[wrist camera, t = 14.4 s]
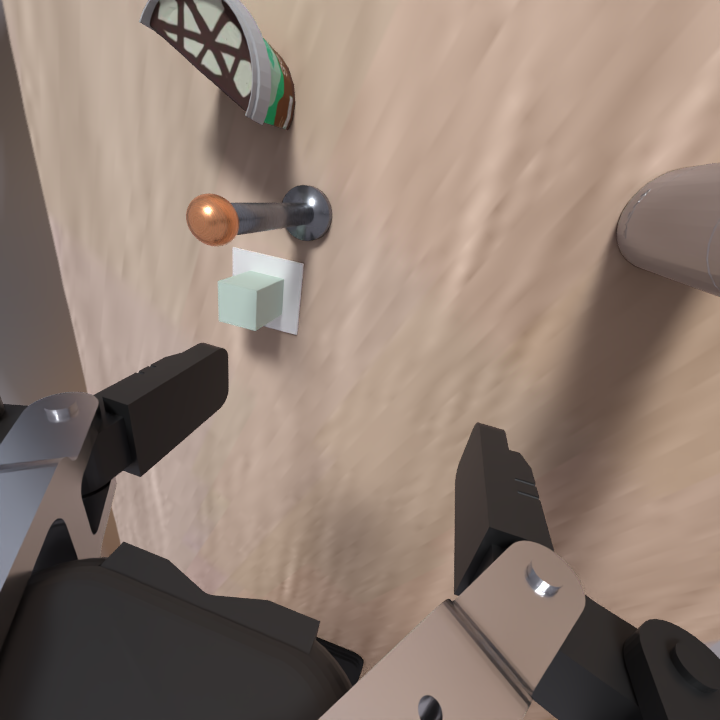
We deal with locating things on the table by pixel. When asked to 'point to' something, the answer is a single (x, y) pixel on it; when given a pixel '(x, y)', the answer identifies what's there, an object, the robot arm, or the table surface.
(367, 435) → the table surface
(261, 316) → the green block
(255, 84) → the food container
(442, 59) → the table surface
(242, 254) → the pad
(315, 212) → the metal post
